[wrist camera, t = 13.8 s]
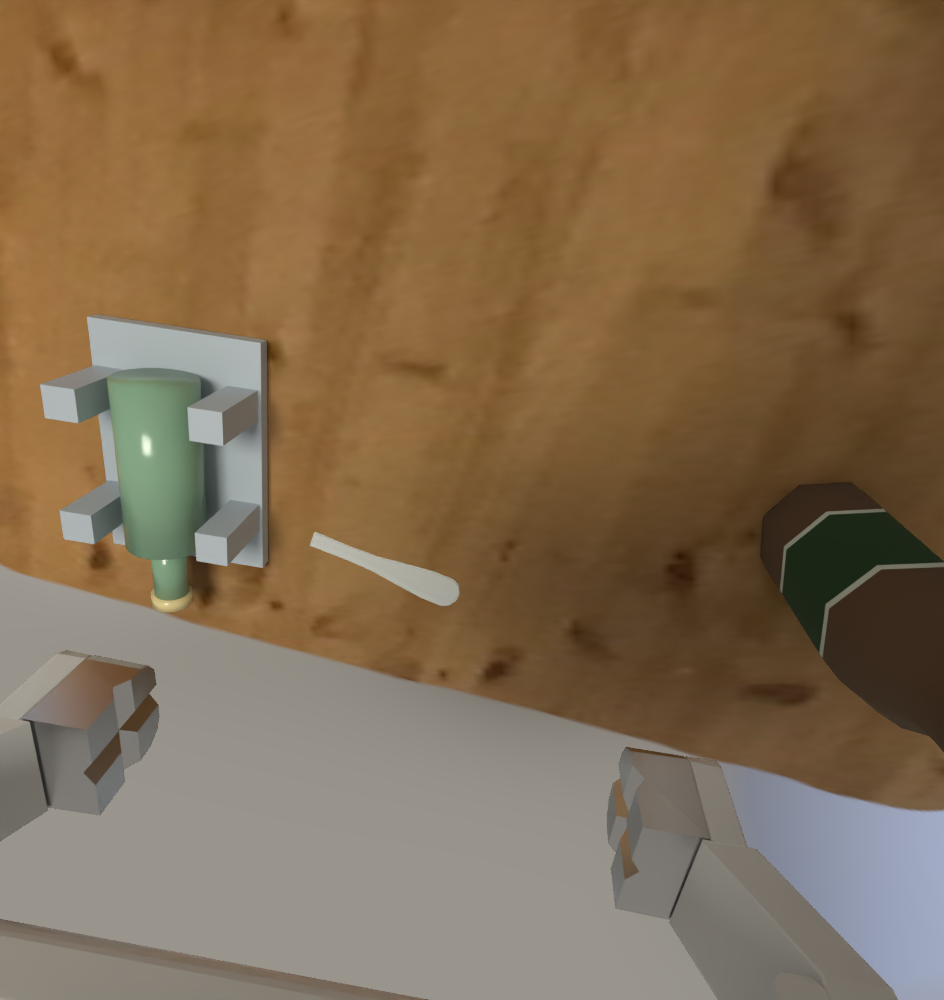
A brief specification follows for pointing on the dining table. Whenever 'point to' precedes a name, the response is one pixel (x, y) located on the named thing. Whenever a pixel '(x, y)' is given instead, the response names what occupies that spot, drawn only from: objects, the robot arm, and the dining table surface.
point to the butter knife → (395, 571)
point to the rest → (213, 421)
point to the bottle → (159, 474)
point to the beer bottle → (864, 599)
